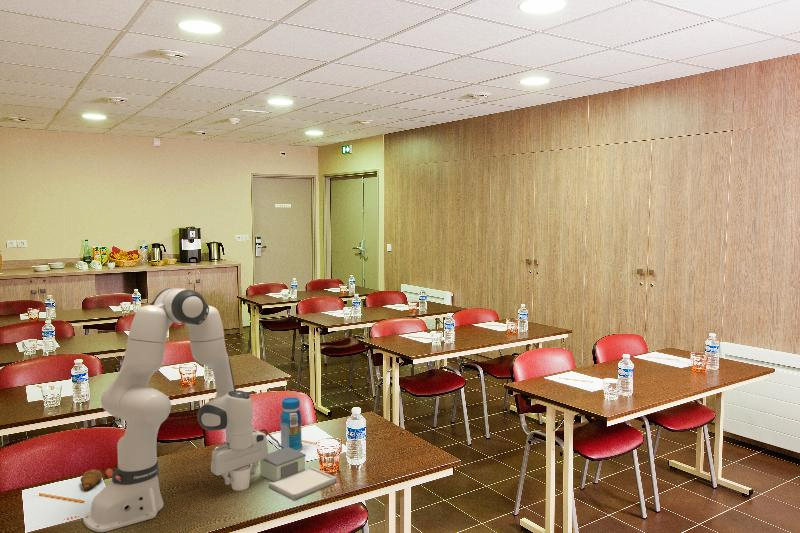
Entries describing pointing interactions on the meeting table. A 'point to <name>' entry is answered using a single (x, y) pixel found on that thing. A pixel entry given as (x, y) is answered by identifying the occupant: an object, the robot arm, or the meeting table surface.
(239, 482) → the white cup
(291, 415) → the beverage bottle
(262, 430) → the glasses
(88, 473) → the croissant
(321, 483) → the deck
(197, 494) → the meeting table surface
